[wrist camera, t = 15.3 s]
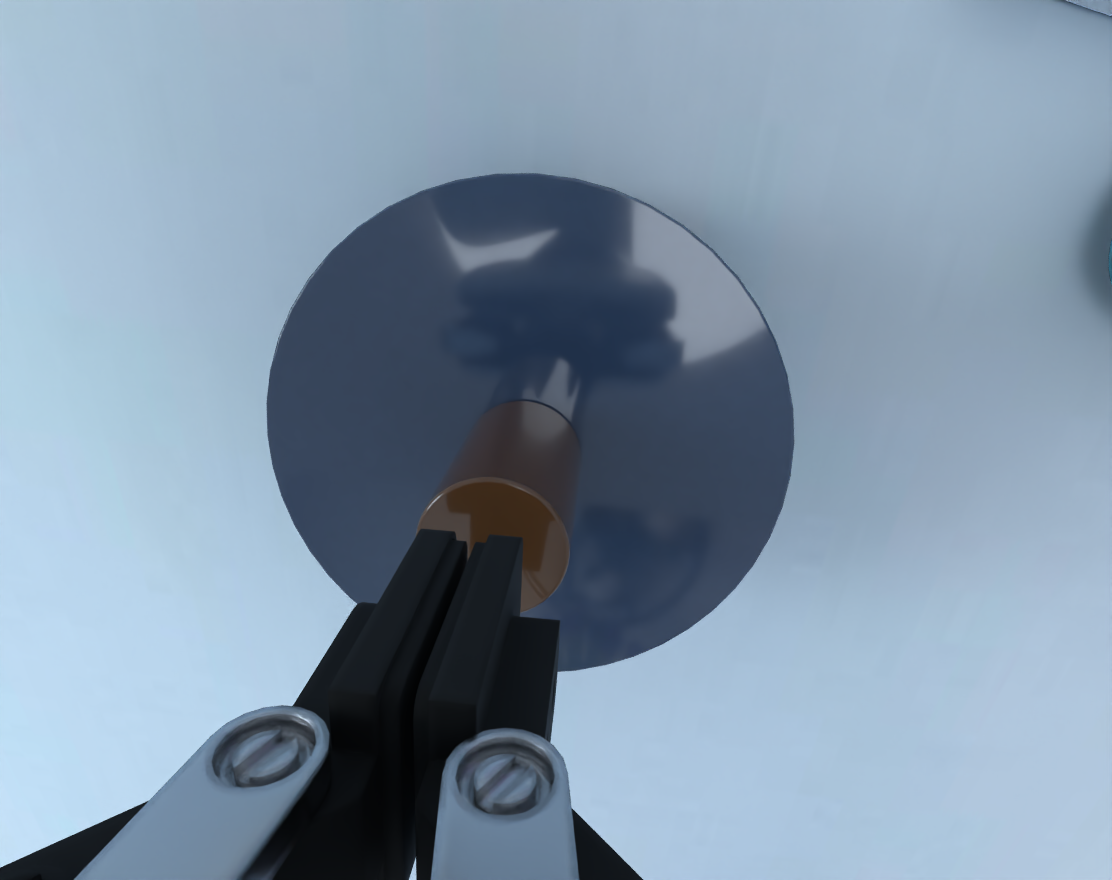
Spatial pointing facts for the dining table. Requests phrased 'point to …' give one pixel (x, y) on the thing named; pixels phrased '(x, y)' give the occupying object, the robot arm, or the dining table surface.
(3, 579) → the dining table surface
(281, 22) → the dining table surface
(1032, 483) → the dining table surface
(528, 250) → the lid
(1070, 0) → the medicine bottle
